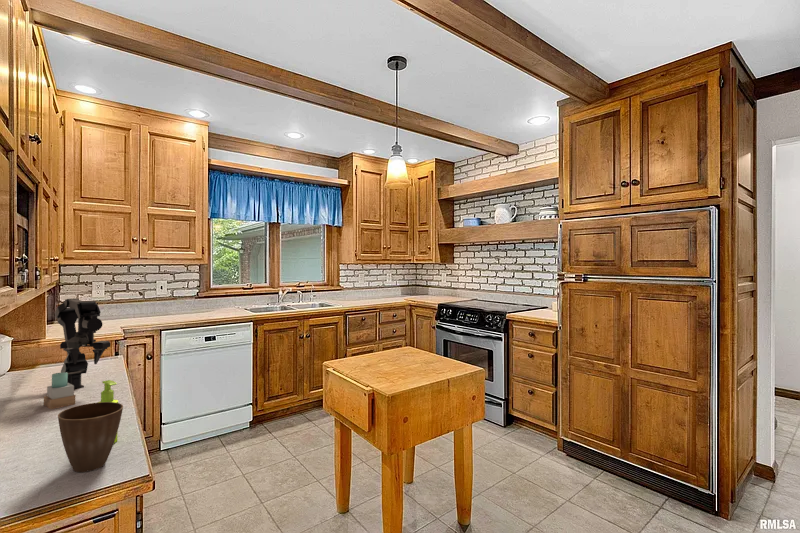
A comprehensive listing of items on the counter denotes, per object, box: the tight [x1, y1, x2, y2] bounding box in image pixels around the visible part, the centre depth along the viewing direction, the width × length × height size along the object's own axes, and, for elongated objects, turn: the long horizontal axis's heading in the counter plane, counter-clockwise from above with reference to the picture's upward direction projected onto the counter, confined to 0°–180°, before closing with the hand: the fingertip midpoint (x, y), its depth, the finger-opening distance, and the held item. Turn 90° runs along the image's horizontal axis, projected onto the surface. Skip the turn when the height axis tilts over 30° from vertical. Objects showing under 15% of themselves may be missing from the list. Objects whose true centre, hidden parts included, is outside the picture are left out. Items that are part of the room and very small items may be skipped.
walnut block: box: [43, 394, 76, 410], centre depth 170 cm, size 8×8×4 cm
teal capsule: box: [51, 372, 68, 388], centre depth 170 cm, size 5×5×5 cm
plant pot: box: [57, 401, 124, 473], centre depth 118 cm, size 15×15×16 cm
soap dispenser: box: [99, 379, 119, 444], centre depth 134 cm, size 6×7×20 cm
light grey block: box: [46, 383, 75, 400], centre depth 170 cm, size 7×7×4 cm
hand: (85, 364), depth 186 cm, fingers open, 9 cm apart
